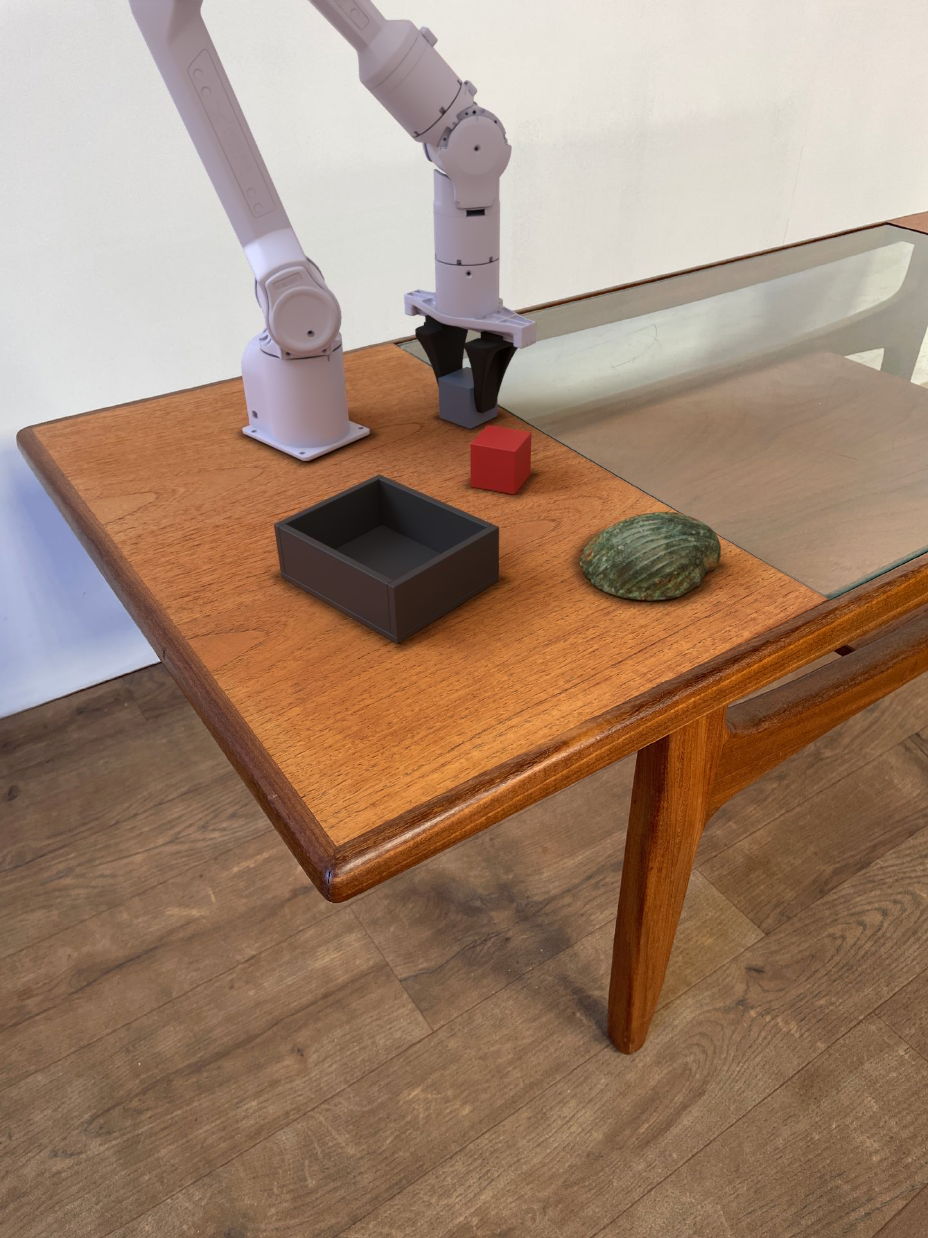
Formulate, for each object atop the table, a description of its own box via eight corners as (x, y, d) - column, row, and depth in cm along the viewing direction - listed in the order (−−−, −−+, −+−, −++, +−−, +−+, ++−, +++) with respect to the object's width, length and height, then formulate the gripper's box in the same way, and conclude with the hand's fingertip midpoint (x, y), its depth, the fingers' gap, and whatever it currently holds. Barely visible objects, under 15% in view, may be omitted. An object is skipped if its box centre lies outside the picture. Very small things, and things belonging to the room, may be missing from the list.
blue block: (439, 417, 93) (438, 378, 91) (467, 405, 95) (466, 366, 93) (469, 429, 91) (469, 388, 88) (497, 416, 93) (497, 376, 91)
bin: (281, 577, 70) (273, 523, 68) (382, 524, 76) (379, 473, 74) (397, 644, 63) (393, 587, 61) (499, 580, 69) (499, 526, 67)
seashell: (590, 478, 73) (726, 490, 71) (587, 523, 76) (717, 535, 74) (576, 555, 65) (726, 571, 64) (572, 602, 68) (717, 618, 66)
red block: (470, 486, 81) (469, 443, 79) (487, 466, 84) (487, 424, 82) (514, 495, 80) (515, 451, 78) (530, 474, 83) (532, 431, 81)
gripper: (560, 261, 83) (554, 410, 90) (439, 234, 91) (442, 372, 99) (507, 280, 78) (505, 434, 86) (384, 249, 86) (393, 393, 94)
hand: (468, 403), depth 92 cm, fingers closed on blue block, 4 cm apart
